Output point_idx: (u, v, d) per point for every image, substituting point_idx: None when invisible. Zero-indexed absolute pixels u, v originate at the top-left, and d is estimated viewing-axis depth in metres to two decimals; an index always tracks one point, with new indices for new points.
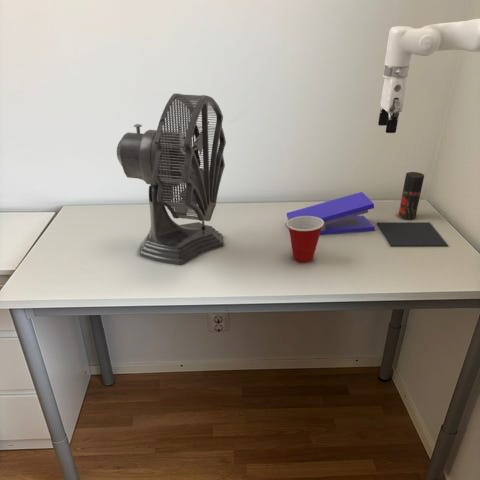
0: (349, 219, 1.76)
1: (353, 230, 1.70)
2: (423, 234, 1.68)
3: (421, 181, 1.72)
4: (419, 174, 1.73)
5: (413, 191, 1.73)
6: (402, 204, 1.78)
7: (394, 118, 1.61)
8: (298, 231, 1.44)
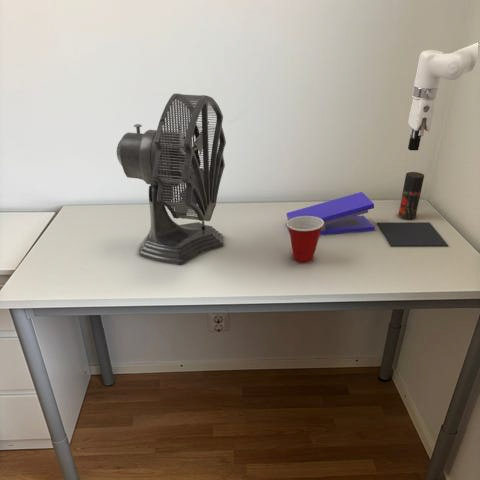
0: (349, 219, 1.76)
1: (353, 230, 1.70)
2: (423, 234, 1.68)
3: (421, 181, 1.72)
4: (419, 174, 1.73)
5: (413, 191, 1.73)
6: (402, 204, 1.78)
7: (417, 137, 1.74)
8: (298, 231, 1.44)
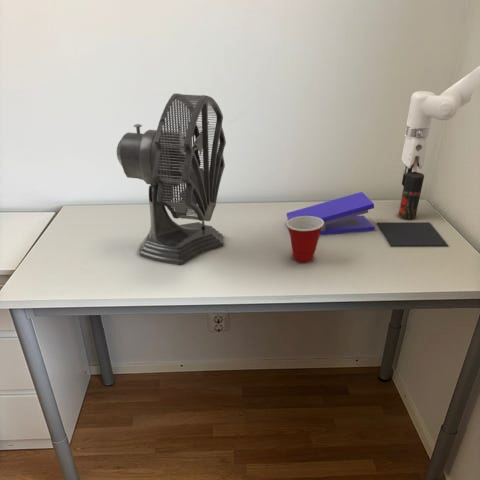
0: (349, 219, 1.76)
1: (353, 230, 1.70)
2: (423, 234, 1.68)
3: (421, 181, 1.72)
4: (419, 174, 1.73)
5: (413, 191, 1.73)
6: (402, 204, 1.78)
7: None
8: (298, 231, 1.44)
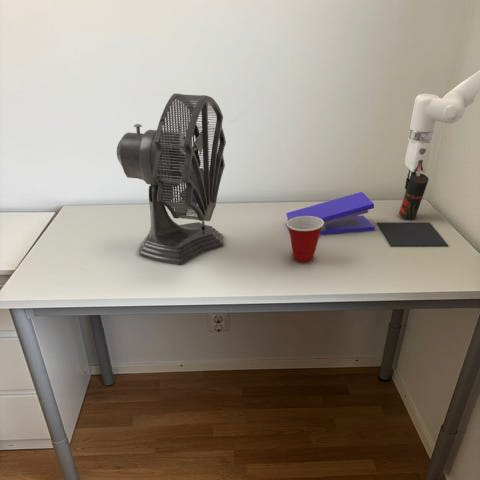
0: (349, 219, 1.76)
1: (353, 230, 1.70)
2: (423, 234, 1.68)
3: (425, 186, 1.69)
4: (423, 177, 1.70)
5: (415, 195, 1.71)
6: (403, 205, 1.76)
7: None
8: (298, 231, 1.44)
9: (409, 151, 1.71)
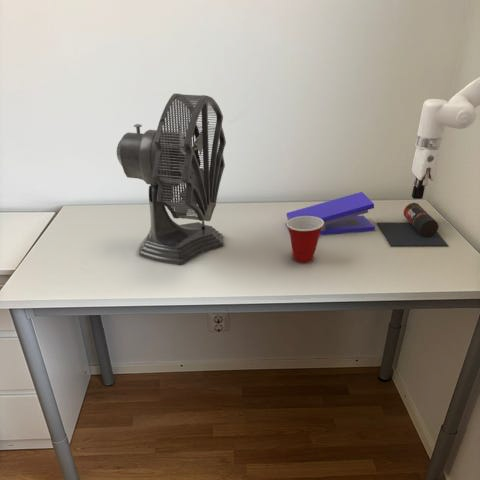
0: (349, 219, 1.76)
1: (353, 230, 1.70)
2: None
3: None
4: (434, 228, 1.65)
5: None
6: (408, 218, 1.73)
7: (421, 186, 1.67)
8: (298, 231, 1.44)
9: (416, 158, 1.65)
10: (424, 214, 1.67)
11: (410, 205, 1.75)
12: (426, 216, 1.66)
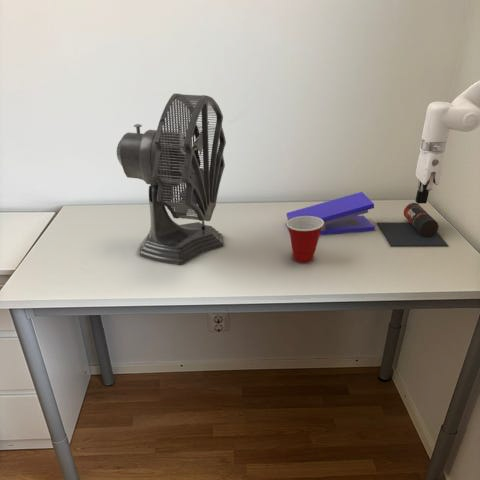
0: (349, 219, 1.76)
1: (353, 230, 1.70)
2: None
3: None
4: (434, 228, 1.65)
5: None
6: (408, 218, 1.73)
7: (425, 190, 1.64)
8: (298, 231, 1.44)
9: (420, 162, 1.61)
10: (424, 214, 1.67)
11: (410, 205, 1.75)
12: (426, 216, 1.66)
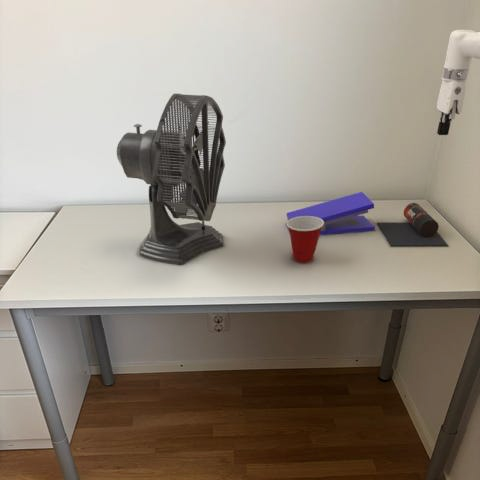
0: (349, 219, 1.76)
1: (353, 230, 1.70)
2: None
3: None
4: (434, 228, 1.65)
5: None
6: (408, 218, 1.73)
7: (448, 121, 1.68)
8: (298, 231, 1.44)
9: (443, 92, 1.66)
10: (424, 214, 1.67)
11: (410, 205, 1.75)
12: (426, 216, 1.66)
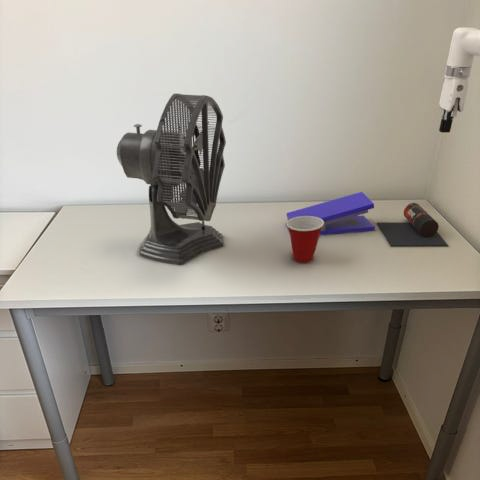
0: (349, 219, 1.76)
1: (353, 230, 1.70)
2: None
3: None
4: (434, 228, 1.65)
5: None
6: (408, 218, 1.73)
7: (449, 118, 1.69)
8: (298, 231, 1.44)
9: (445, 90, 1.66)
10: (424, 214, 1.67)
11: (410, 205, 1.75)
12: (426, 216, 1.66)
